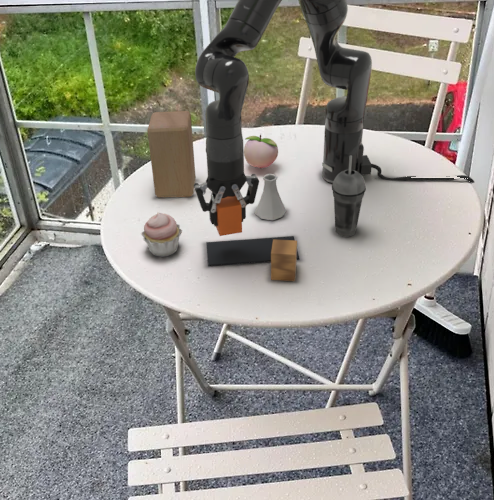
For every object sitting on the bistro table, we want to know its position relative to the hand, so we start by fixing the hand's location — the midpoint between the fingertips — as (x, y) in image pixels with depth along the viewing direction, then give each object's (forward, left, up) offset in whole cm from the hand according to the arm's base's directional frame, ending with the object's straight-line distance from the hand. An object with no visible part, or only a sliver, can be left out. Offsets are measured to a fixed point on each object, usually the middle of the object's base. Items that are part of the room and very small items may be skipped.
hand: (228, 222), depth 142 cm
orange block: (0, 0, -2) cm, 2 cm away
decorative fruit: (-11, -38, -9) cm, 40 cm away
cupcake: (+15, -4, -9) cm, 18 cm away
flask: (-11, -16, -9) cm, 21 cm away
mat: (-5, 0, -9) cm, 10 cm away
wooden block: (+12, -31, -9) cm, 34 cm away
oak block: (-11, +8, -9) cm, 16 cm away
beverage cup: (-27, -6, -9) cm, 29 cm away
